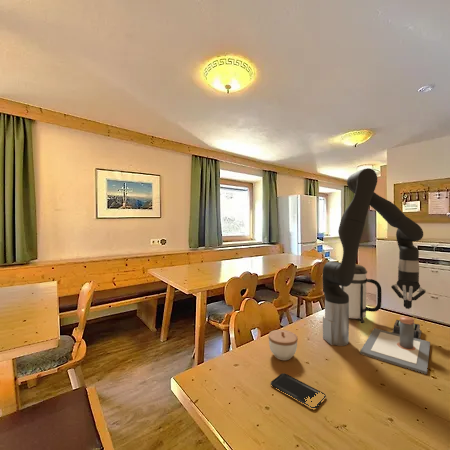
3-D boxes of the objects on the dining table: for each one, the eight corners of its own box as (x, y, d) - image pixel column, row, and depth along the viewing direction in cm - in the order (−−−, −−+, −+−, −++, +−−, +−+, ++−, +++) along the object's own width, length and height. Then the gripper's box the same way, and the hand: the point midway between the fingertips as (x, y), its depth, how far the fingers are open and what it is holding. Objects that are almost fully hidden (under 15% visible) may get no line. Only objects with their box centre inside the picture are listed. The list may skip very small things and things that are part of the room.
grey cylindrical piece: (406, 349, 97) (407, 321, 97) (396, 343, 102) (396, 316, 101) (416, 348, 98) (417, 320, 98) (405, 342, 103) (406, 315, 102)
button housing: (419, 339, 107) (420, 332, 107) (391, 332, 114) (391, 325, 114) (421, 331, 115) (421, 324, 115) (395, 325, 121) (395, 318, 121)
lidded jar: (297, 350, 100) (297, 326, 100) (297, 366, 89) (297, 339, 89) (269, 347, 103) (269, 324, 102) (267, 361, 92) (267, 336, 92)
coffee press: (349, 325, 122) (350, 263, 121) (331, 313, 138) (331, 258, 137) (382, 323, 124) (383, 262, 123) (360, 311, 140) (360, 257, 139)
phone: (283, 372, 85) (327, 394, 74) (283, 375, 85) (327, 398, 74) (269, 383, 79) (314, 409, 68) (269, 386, 79) (314, 413, 68)
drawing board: (426, 374, 84) (426, 370, 84) (360, 353, 97) (360, 350, 97) (430, 344, 104) (430, 341, 104) (374, 330, 117) (374, 327, 117)
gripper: (427, 270, 112) (426, 309, 112) (392, 266, 120) (391, 303, 121) (426, 273, 106) (425, 314, 106) (389, 269, 115) (388, 307, 115)
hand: (407, 308), depth 114 cm, fingers closed
